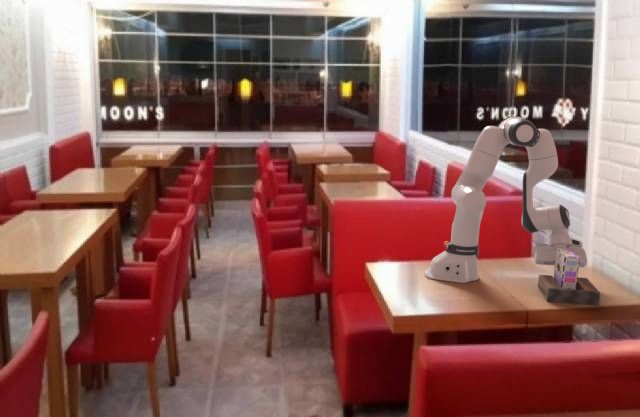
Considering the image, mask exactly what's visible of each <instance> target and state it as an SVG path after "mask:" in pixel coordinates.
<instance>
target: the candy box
mask: <svg viewBox="0 0 640 417" xmlns="http://www.w3.org/2000/svg"><path fill="white" fill-rule="evenodd" d="M579 260H580V257H579V256H577V255H576V254H575V253H574V252H573V251H572V250H571V249H565V248H557V250H556V260H555V268H554V272H553V278H554V279H555V281H556V282H557V283H558V285H559V286H560V287H561V289H574V290H576V284H577V277H578V275H579V269H580V267H579Z"/></svg>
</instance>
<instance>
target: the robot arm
mask: <svg viewBox="0 0 640 417" xmlns="http://www.w3.org/2000/svg"><path fill="white" fill-rule="evenodd" d="M508 144H511V145H513V146H516V147H517V146H518V147H525V149H526V151H527V157H528V167H527V169H526V170H525V171H524V173H523V175H522V212H521V225H522V227H523V228H522V229H524V230H525V231H526V232H528V233H530V234H533V233H538V232H541V231H546V233H547V239H546V240H547V243H541V242H538V243H537V242H536V244H534V245H533V251H534V263H535V264H536V265H539V266H540V265H541V266H543V265H544V266H553V267H554V269H555V260H556V250H557V248H565V249H571V250H572V251H573V252H574V253H575V254H576V255H577V256H579V257H580V260H579V268H585V266H586V265H587V263H588V257H587V253H586V250H585V249H584V247H583V242H582V241H581V240H577V239H575V238H572V237H571V236H570V235H569V227H570V225H571V222H570V221H571V219H570V213H569V210H568V209H567V208H566V207H565V206H563V205H562V204H553V205H548V206H541V207H534V206H533V203H534V202H533V194H534V193H533V191H534V188H535V186H536V185H538V184H540V183H541V182H543V181H545V180H546V179H548V178H550V177H551V176H553V175H554V174H555V173H556V171H557V169H558V167H559V159H558V152H557V148H556V144H555V141H554V139H553V135H552V133H551V132H550V130H548V129H546V128H537V127H536V125H534V123H533V122H532V121H530V120H528V119H526V118H524V117H522V116H514V115H513V116H512V115H511V116H508V117H505V118H504V119H502V120H501V122H500V123H498V124H497V125H487V126H485V127H483V129H482V131H481V132H480V134H479V135H478V137H477V140H476V141H475V143H474V145H473V148H472V151H471V153H470V156H469V157H468V159H467V162H466V165H465V167H464V169H463V171H462V172H461V174H460V175H459V177H458V179H457V181H456V183H455V185H454V186H453V187H452V189H451V192H450V193H451V194H450V195H451V200H452V202H453V203H454V205H456V206H455V207H456V208H455V213H454V217H453V222H452V224H451V234H450V237H451V238H450V241H448V240H446V241H444V242H443V245H444V247H445V248H444V251H442V252H441V253H439V254H437V255H436V256H434V257H433V258H432V259H431V262H430V266H429V267H425V269H424V271H423V272H424V276H425V277H426V278H428V279H430V280H436V281H437V280H438V281H447V282H455V283H459V284H460V283H461V284H466V283H469V282H473V281H477V280H479V279H480V276H479V269H478V257H479V252H480V245H479V236H480V228H481V226H480V225H481V223H482V222H481V221H482V218H483V215H484V210H485V208H486V205H487V199H486V194H485V192H483V189H484V187H485V186H486V184H487V183H488V181H489V180H490V179H491V178H492V177H493V175H494V172H495V170H496V167H497V164H498V163H499V161H500V157H501V154H502V153H503V150H504V148H505V147H506V146H507V145H508Z"/></svg>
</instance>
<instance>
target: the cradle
mask: <svg viewBox="0 0 640 417" xmlns="http://www.w3.org/2000/svg"><path fill="white" fill-rule="evenodd" d="M537 282H538V283H537V288H538V289H539V291H540V292H541V294H542V295H543V297H544V299H545V301H546V302H549V303H559V302H563V303H562V304H573V305H574V304H575V305H577V304H578V305H587V306H588V305H589V306H600V305H599V304H600V298H601V297H600V296H601V292H600V291H599V290H598V289H597V287H596V286H595V285H594V284H593V283H592V282H591V281H590V279H588V277H578V276H577V284H576V290H574V289H561V287H560V286H559V285H558V283H557V282H556V281H555V279H554V275H550V274H548V275H547V274H538V280H537Z"/></svg>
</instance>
